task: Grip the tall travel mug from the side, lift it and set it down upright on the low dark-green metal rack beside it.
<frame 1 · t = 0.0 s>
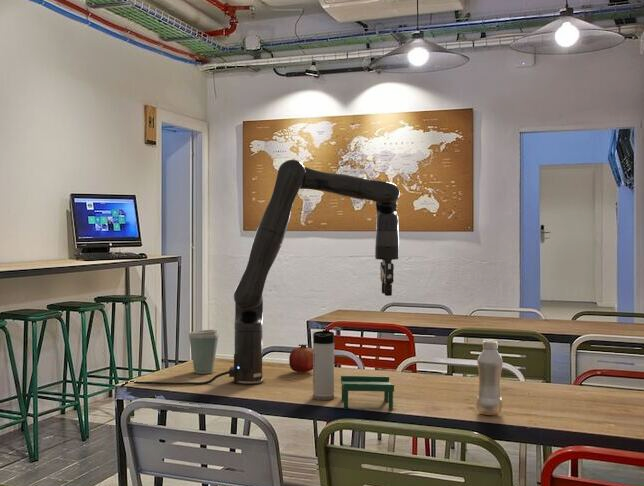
hand: (386, 294, 241), 29 cm above the table, tool pointing down, fingers open, 8 cm apart
plastic bottle: (489, 415, 201), on the table
travel mug: (323, 398, 222), on the table
disposable coffee cup: (203, 372, 263), on the table
rack: (366, 404, 213), on the table
fruit: (302, 373, 262), on the table
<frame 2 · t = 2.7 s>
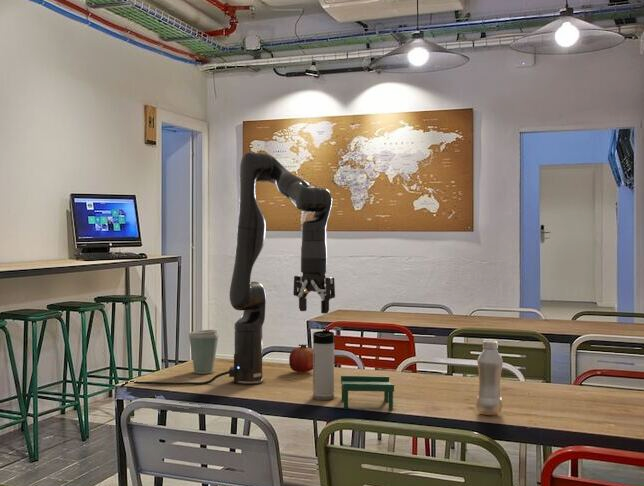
hand: (313, 312, 216), 26 cm above the table, tool pointing down, fingers open, 8 cm apart
nothing on the table moved.
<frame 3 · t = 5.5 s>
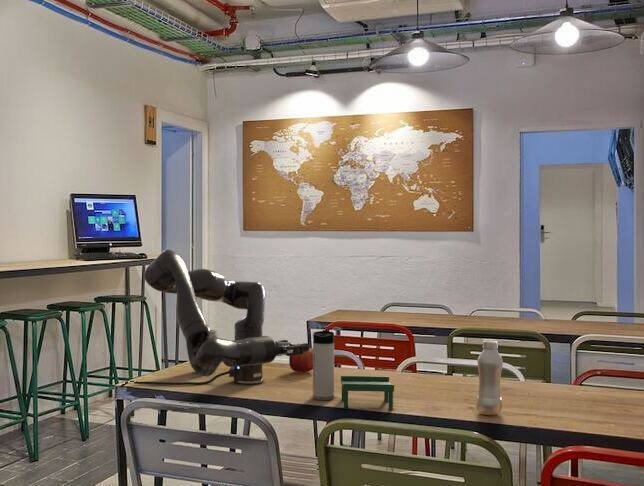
hand: (297, 345, 214), 17 cm above the table, tool horizontal, fingers open, 8 cm apart
nothing on the table moved.
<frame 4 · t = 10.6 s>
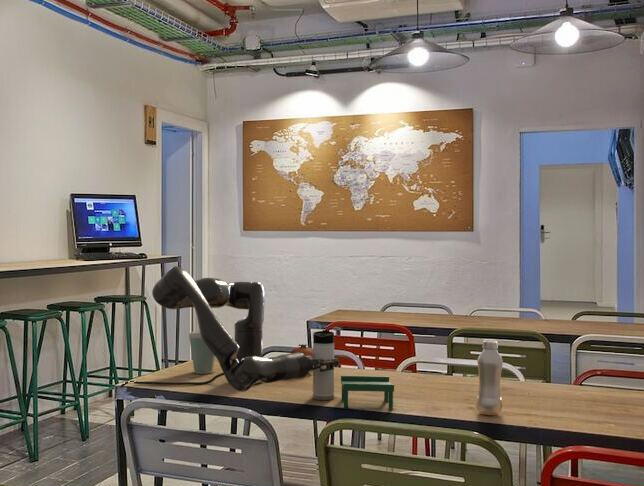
hand: (329, 360, 223), 11 cm above the table, tool horizontal, fingers closed on travel mug, 6 cm apart
travel mug: (323, 398, 222), on the table, touching gripper
everything else where it was.
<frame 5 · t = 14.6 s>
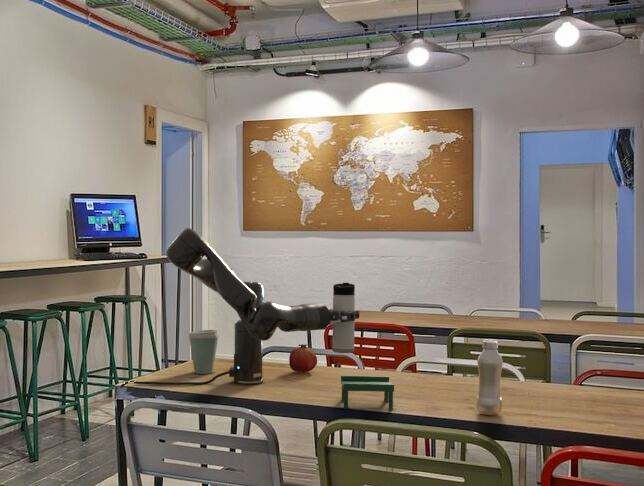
hand: (349, 313, 217), 26 cm above the table, tool horizontal, fingers closed on travel mug, 6 cm apart
travel mug: (343, 352, 216), point 15 cm above the table, touching gripper
everything else where it was.
when the fingers open (17 cm above the table, at t = 18.6 s): travel mug stays where it is, resting on rack.
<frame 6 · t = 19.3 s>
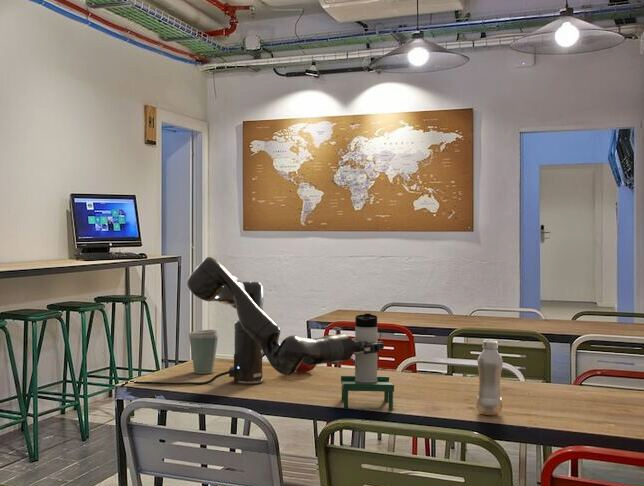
hand: (371, 343, 213), 18 cm above the table, tool horizontal, fingers open, 8 cm apart
travel mug: (366, 384, 212), point 6 cm above the table, touching rack
everything else where it was.
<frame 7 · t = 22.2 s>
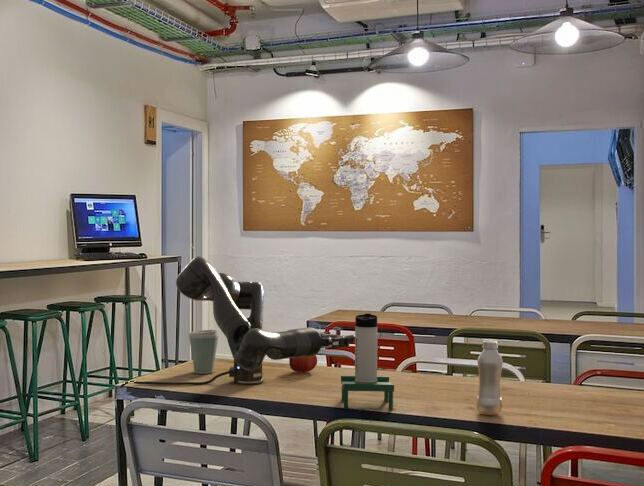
hand: (341, 337, 205), 21 cm above the table, tool horizontal, fingers open, 8 cm apart
nothing on the table moved.
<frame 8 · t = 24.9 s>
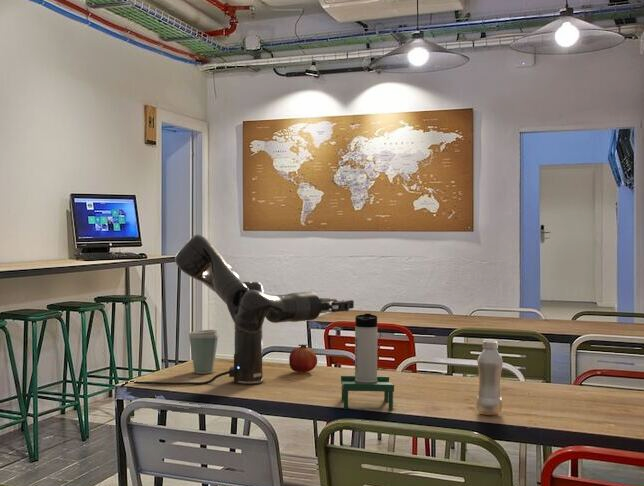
hand: (340, 303, 204), 30 cm above the table, tool horizontal, fingers open, 8 cm apart
nothing on the table moved.
at the end: travel mug inside the target area on the rack (0.2 cm from its centre), point 5.8 cm above the rack's base; travel mug tilted 0° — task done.
